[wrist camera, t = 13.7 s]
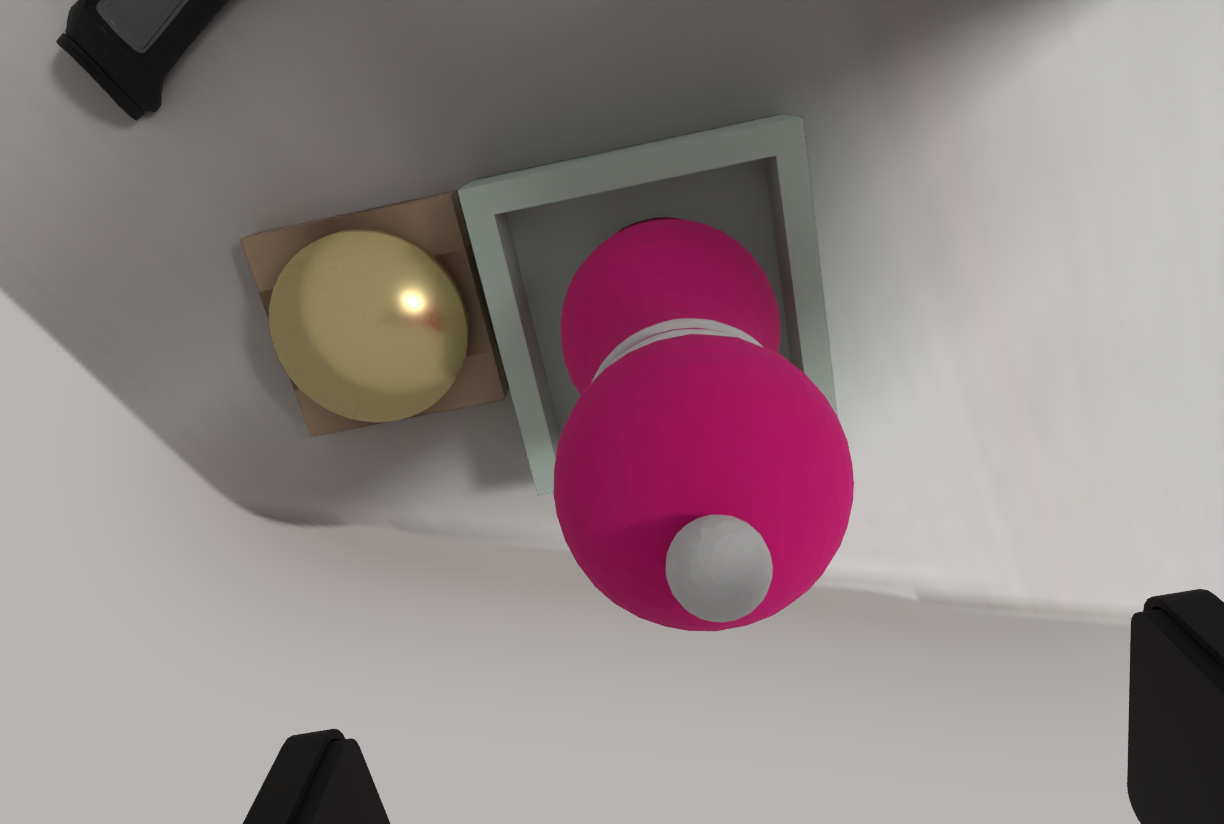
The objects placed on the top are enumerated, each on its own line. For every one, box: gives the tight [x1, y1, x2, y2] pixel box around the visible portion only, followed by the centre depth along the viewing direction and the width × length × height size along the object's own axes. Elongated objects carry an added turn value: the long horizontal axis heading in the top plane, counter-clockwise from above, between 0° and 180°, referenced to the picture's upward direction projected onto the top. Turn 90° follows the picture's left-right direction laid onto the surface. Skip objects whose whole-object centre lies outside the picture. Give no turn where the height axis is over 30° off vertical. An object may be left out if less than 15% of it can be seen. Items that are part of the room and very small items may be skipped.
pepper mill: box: [554, 217, 854, 631], centre depth 23 cm, size 7×7×20 cm
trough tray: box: [458, 114, 838, 495], centre depth 31 cm, size 12×12×4 cm
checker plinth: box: [240, 191, 509, 436], centre depth 32 cm, size 8×8×1 cm
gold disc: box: [269, 228, 470, 422], centre depth 31 cm, size 7×7×2 cm
